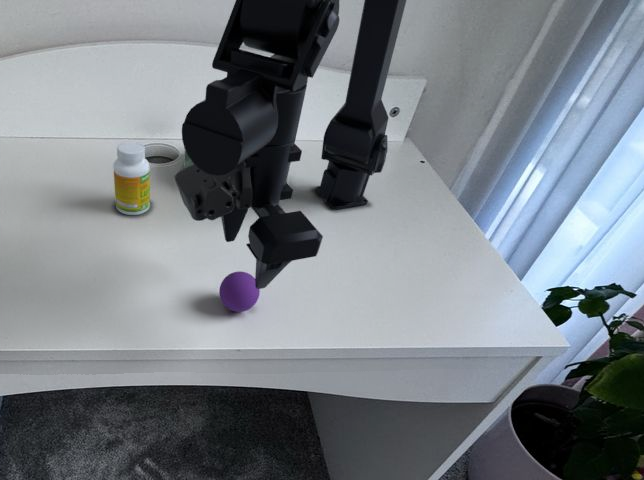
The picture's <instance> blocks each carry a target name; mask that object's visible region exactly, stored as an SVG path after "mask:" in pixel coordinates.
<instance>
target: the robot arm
mask: <svg viewBox="0 0 644 480" xmlns="http://www.w3.org/2000/svg"><path fill="white" fill-rule="evenodd" d="M363 1H364V2H363V6H362V13H361V18H360V21H359V22H360V23H359V29H358V33H357V39H356V43H355V48H354V54H353V59H352V65H351V71H350V76H349V80H348V88H347V92H346V97H345V101H344V103H343V104H342V106H341V107H340V108H339V109H338V111H337V112H336V113H335V115H333V117H332V118H331V119H330V121H329V123H328V124H327V127H326V129H325V132H324V135H323V139H322V140H323V141H322V149H321V160H324V161H328V162H327V167H326V169H324V171H323V174H322V177H321V181H320V184H319V186H315V189H314V191H315V192H316V193H317V194H318V195H319V196H320V197H321V198H322V199H323V201H325V202H326V203H327V204H328V205H329V207H331V209H333V210H340V209H341V210H342V209H346V208H352V207H358V206H365V205H368V203H369V200H368V199H367V198H366V197H365V196H364V194H365V191H366V188H367V185H368V182H369V179H370V177H371V176H373V175H374V174H377V173H378V174H379V173H382V172H383V170H384V166H385V163H386V160H387V154H388V150H389V149H388V148H389V147H388V135H387V134H386V131H387V127H388V122H389V114H388V112H387V110H386V108H385V105H384V103H383V100H382V98H383V94H384V91H385V86H386V82H387V78H388V75H389V70H390V67H391V62H392V59H393V55H394V50H395V46H396V43H397V39H398V36H399V31H400V27H401V24H402V19H403V17H404V12H405V7H406V4H407V0H363ZM339 14H340V0H235V2H234V5H233V7H232V10H231V13H230V15H229V18H228V20H227V23H226V25H225V28H224V31H223V33H222V36H221V39H220V42H219V43H218V47H217V49H216V52H215V54H214V57H213V60H212V62H211V67H212V69H214V70H216V71H217V70H218V71H221V72H224V73H226V77H224V78H222V79H215V80H213V81H212V82H210V83H208V84H206V87H205V99H203V100H201V101H200V102H197V103H196V104H195V105H194V106H192V107H191V108H190V109H189V111H188V112H187V114H186V116H185V119H184V121H183V123H182V125H181V141H182V144H183V147H184V151H185V150H186V152H187V154H188V156H189V158H190V159H191V161H192V162H193V163H194V164H193V165H191V166H189V167H187V168H185V169H184V168H183V169H181V170H180V171H178V172H176V174H175V175H174V181H175V183H176V187H177V190H178V192H179V195H180V198H181V200H182V203H183V205H184V206H185V207H186V209H187V211H188V213H189V215H190V217H191V218H192V219H193V220H194V221H197V222H201V221H204V220H209V221H215V220H217V219H219V218H220V219H221V225H222V230H223V235H224V236H223V237H224V240H225V242H226V243H232V242H234V241H235V240H236V238H237V236H238V235H239V232H240V230H241V228H242V225H243V224H244V221H245V218H246V216H247V213H248V211H249V209H250V208H251V209H252V210H253V211H254V213H255V214H256V216H257V217H258V218H257V219H256V220H255V221H254V222H253V223H252V224H250V226H249V229H248V243H246V244H245V245H246V247H247V249H248V250H249V251H250V253H251V255H253V257H254V258H255V277H254V278H255V286H256V288H257V289H260V290H261V289H265V288H266V287H268V285H269V284H271V282H272V281H273V280H274V279H275V278H276V277H277V276H278V275H279V274H280V273H281V272H282V271H283V270H284V269H285V268H286V267H287V266H288V265H289V264H290V263H292V262H293V261H298V260H304V259H309V258H314V257H315V258H316V257H317V256H318V253H319V251H320V247H321V244H322V241H323V238H324V236H323V234H322V233H321V232H320V231H319V229H317V228H316V226H314V224H313V223H312V222H311V221H310V219H309V218H308V217H307V216H306V215H305V214H304V212H302V211H301V210H296V211H290V212H286V211H285V210H284V209H283V208H282V206H281V205H280V202H281V201H285V200H286V201H287V200H291V199H292V197H293V193H294V189H293V188H292V187H291V186H290V184H289V183H288V182H287V180H288V177H289V172H290V166H291V163H295V162H300V161H301V157H302V153H303V150H302V149H301V148H300V147H299V146H298V145H297V144H296V139H297V134H298V129H299V124H300V120H301V116H302V110H303V104H304V101H305V97H306V92H307V86H308V80H309V78H311V79H312V78H314V76H315V74H316V72H317V70H318V68H319V66H320V64H321V62H322V60H323V58H324V56H325V54H326V52H327V50H328V48H329V46H330V44H331V43H332V41H333V38H334V36H335V35H336V32H337V31H338V28H339V26H340V25H339V24H340V16H339ZM243 44H244V46H245V47H248V48H250V49H253V50H258V51H261V52H265V53H268V54H269V53H270V54H272V55H271V56H268V55H262V54H259V53H256V52H252V51H248V50H245V49H241V46H242V45H243Z"/></svg>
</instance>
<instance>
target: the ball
mask: <svg viewBox="0 0 644 480" xmlns="http://www.w3.org/2000/svg"><path fill="white" fill-rule="evenodd" d="M260 291H261V289H257V288H256V286H255V277H254V276H253V275H252V274H251V273H248V272H246V271H234V272H231V273H229V274H227V275H226V276H225V277H224V278H223V279H222V281H221V283H220V285H219V291H218V295H219V298H220V301H221V303H222V304H223V306H224V307H226V309H228V310H230V311H232V312H237V313H241V312H246V311H249V310H250V309H252V308H253V307H254V306H255V305H256V304H257V302H258V300H259V297H260Z"/></svg>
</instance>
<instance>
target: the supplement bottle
mask: <svg viewBox="0 0 644 480" xmlns="http://www.w3.org/2000/svg"><path fill="white" fill-rule="evenodd" d="M116 156H117V158H116V159H115V160H114V162H113V183H114V185H113V186H114V199H115V200H114V201H115V202H114V203H115V207H116V209H117V211H118V212H120V213H122V214H124V215H127V216H138V215H142V214H144V213H147V212H148V210H149V209H150V207H151V167H150V163H149V161H148V159H147V158H145V157H146V147H145V145H144V144H143V143H141V142H139V141H134V140H126V141H123V142H120V143H118V144H117V146H116Z"/></svg>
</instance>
